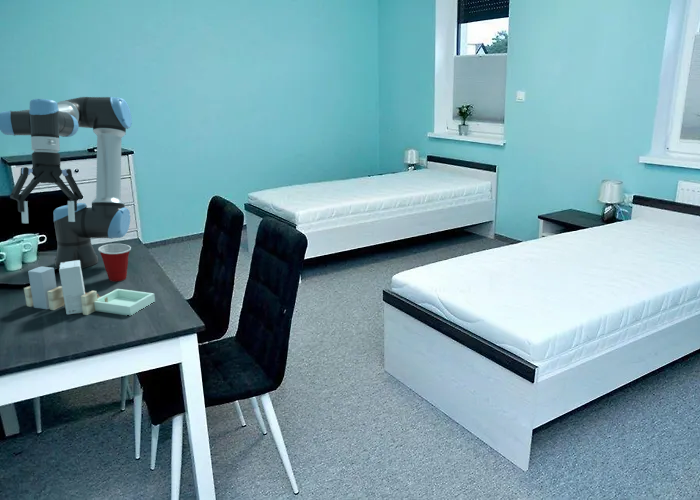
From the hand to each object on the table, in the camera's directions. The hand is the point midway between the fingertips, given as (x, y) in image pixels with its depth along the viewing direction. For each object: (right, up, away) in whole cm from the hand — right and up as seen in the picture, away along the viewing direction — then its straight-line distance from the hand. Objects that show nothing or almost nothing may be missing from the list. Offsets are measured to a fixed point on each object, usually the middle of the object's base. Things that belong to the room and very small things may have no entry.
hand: (49, 222), depth 170 cm
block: (-4, -26, +6) cm, 27 cm away
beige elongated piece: (+2, -26, +6) cm, 27 cm away
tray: (+21, -26, +6) cm, 34 cm away
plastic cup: (+8, -19, +31) cm, 37 cm away
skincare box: (+7, -27, +3) cm, 28 cm away
